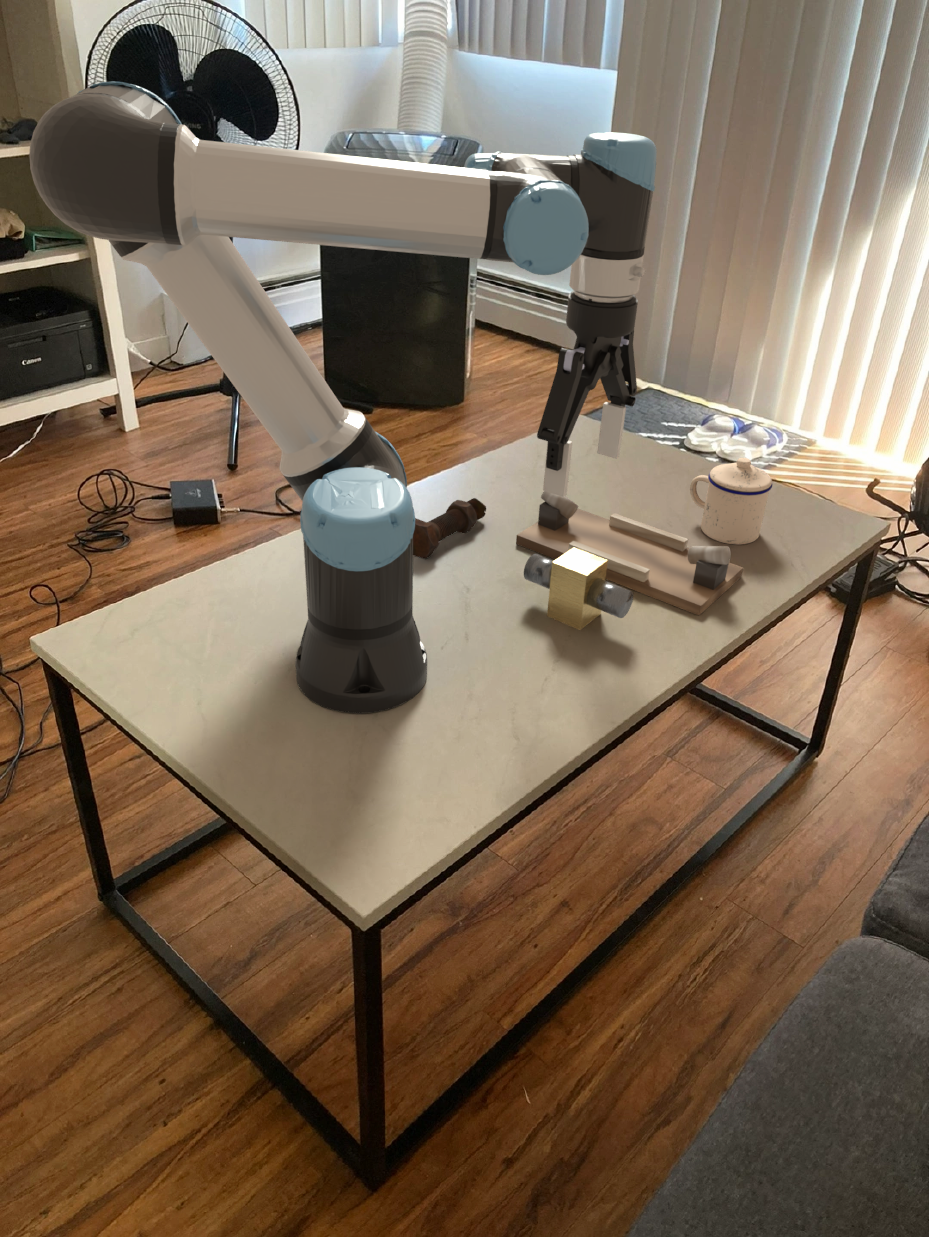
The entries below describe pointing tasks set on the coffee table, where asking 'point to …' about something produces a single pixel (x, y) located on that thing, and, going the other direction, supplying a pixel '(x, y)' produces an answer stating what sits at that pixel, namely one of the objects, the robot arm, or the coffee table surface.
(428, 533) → the bolt
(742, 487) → the teacup with lid
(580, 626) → the universal joint
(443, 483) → the coffee table surface
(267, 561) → the coffee table surface
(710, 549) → the coupling cradle
